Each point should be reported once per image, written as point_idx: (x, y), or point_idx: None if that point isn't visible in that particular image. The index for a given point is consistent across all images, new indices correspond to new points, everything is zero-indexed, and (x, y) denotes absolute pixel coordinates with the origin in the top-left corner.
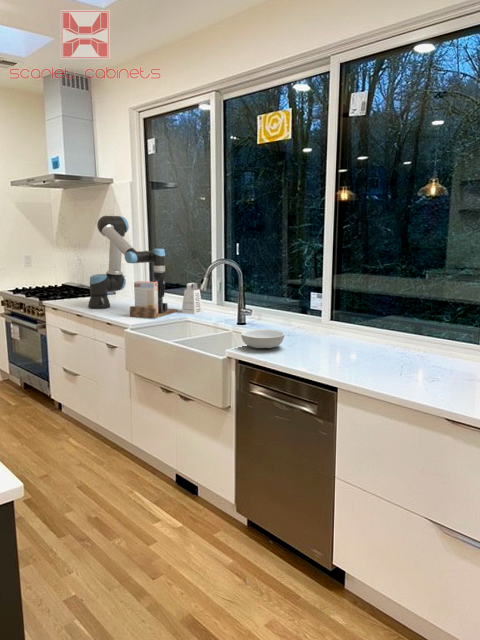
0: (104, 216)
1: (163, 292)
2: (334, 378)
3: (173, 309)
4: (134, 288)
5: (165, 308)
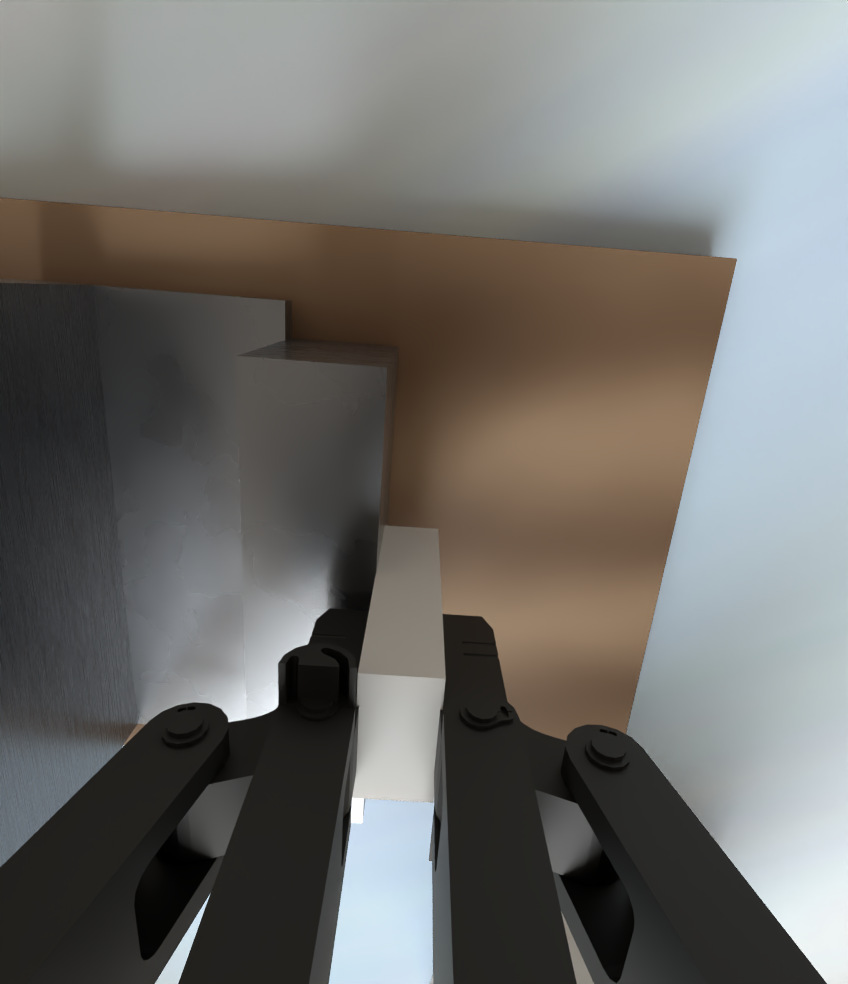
0: None
1: (598, 980)
2: None
3: (565, 723)
4: None
5: None
